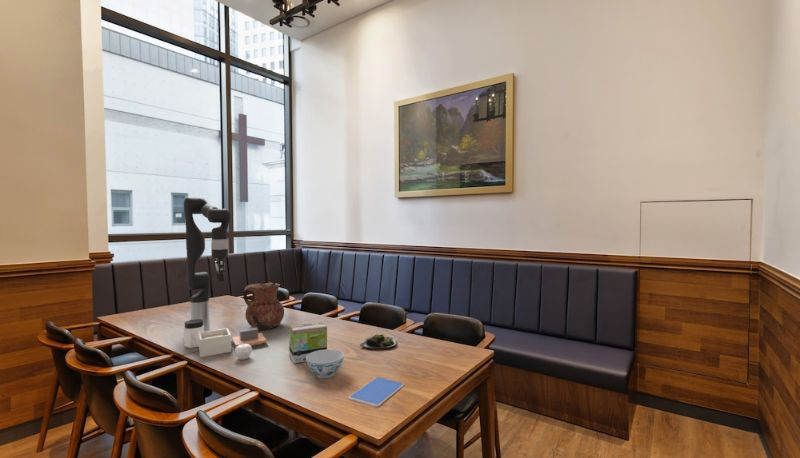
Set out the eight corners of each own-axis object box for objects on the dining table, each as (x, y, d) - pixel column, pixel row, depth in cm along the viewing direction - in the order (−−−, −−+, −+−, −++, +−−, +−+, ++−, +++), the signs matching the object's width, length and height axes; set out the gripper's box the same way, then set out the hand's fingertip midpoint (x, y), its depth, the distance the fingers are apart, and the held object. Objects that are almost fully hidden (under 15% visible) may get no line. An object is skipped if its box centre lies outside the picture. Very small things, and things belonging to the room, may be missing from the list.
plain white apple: (235, 357, 169) (234, 339, 169) (251, 354, 172) (251, 337, 172) (234, 362, 163) (234, 344, 162) (252, 359, 165) (251, 342, 165)
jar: (184, 349, 180) (184, 324, 180) (183, 344, 187) (183, 320, 186) (205, 345, 185) (204, 321, 185) (203, 341, 192) (203, 318, 191)
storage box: (198, 348, 180) (198, 332, 180) (227, 343, 187) (227, 328, 187) (200, 357, 169) (200, 339, 169) (231, 351, 176) (231, 334, 176)
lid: (232, 341, 189) (231, 328, 188) (260, 337, 196) (260, 324, 196) (235, 350, 177) (235, 335, 176) (266, 344, 184) (266, 330, 184)
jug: (270, 319, 232) (270, 279, 232) (292, 324, 220) (291, 283, 219) (237, 328, 214) (236, 285, 214) (258, 334, 202) (258, 288, 201)
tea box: (293, 364, 159) (293, 330, 159) (289, 357, 168) (288, 324, 168) (327, 358, 166) (327, 325, 166) (321, 351, 175) (321, 320, 175)
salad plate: (361, 338, 195) (361, 329, 195) (395, 337, 196) (395, 329, 196) (358, 351, 176) (358, 341, 176) (396, 350, 176) (396, 341, 176)
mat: (230, 342, 190) (230, 341, 190) (261, 337, 197) (261, 336, 197) (235, 352, 175) (235, 351, 175) (268, 346, 183) (268, 345, 183)
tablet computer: (377, 379, 145) (377, 375, 145) (405, 386, 139) (405, 382, 139) (347, 400, 129) (347, 396, 128) (378, 409, 122) (378, 405, 122)
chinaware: (309, 386, 139) (309, 365, 139) (303, 371, 153) (303, 352, 152) (348, 378, 145) (348, 359, 145) (339, 365, 159) (338, 347, 158)
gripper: (210, 247, 192) (210, 279, 192) (212, 249, 179) (213, 282, 180) (226, 247, 196) (226, 277, 196) (229, 248, 183) (230, 281, 184)
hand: (220, 280), depth 188 cm, fingers open, 8 cm apart
